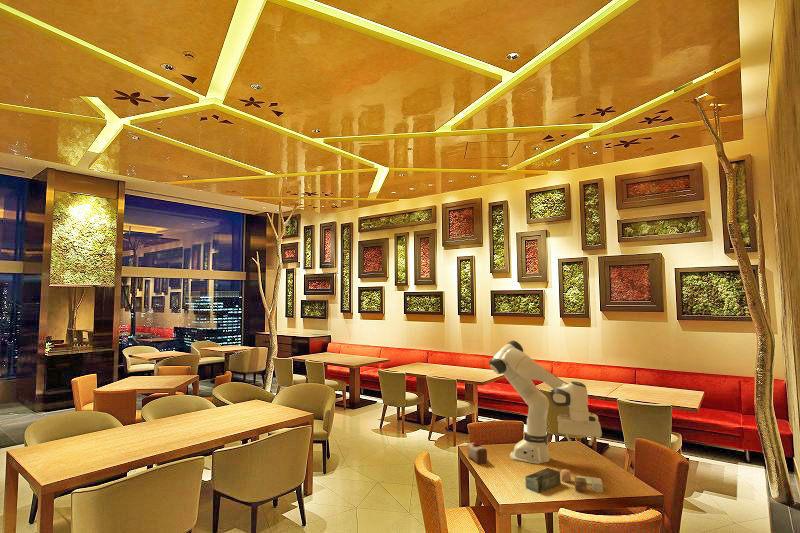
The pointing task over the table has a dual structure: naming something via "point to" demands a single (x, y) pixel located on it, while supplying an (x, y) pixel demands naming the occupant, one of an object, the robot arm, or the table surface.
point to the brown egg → (566, 475)
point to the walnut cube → (580, 484)
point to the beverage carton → (543, 480)
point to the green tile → (587, 479)
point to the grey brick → (597, 484)
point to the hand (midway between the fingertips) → (579, 444)
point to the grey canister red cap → (477, 453)
